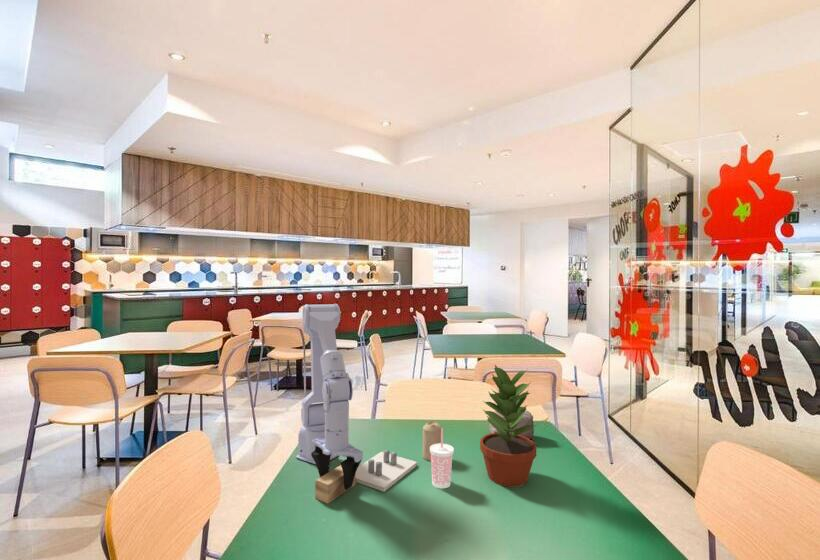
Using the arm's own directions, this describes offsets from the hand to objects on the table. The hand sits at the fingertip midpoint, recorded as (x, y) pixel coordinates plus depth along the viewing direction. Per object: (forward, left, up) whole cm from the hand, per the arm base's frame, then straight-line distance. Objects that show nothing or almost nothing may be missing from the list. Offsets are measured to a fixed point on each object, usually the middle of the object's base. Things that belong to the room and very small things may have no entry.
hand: (336, 483), depth 97 cm
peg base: (+4, +14, -2) cm, 15 cm away
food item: (+26, +56, -2) cm, 62 cm away
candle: (+11, +29, -2) cm, 31 cm away
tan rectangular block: (0, 0, -2) cm, 2 cm away
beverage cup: (+20, +17, -2) cm, 26 cm away
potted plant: (+33, +30, -2) cm, 45 cm away
